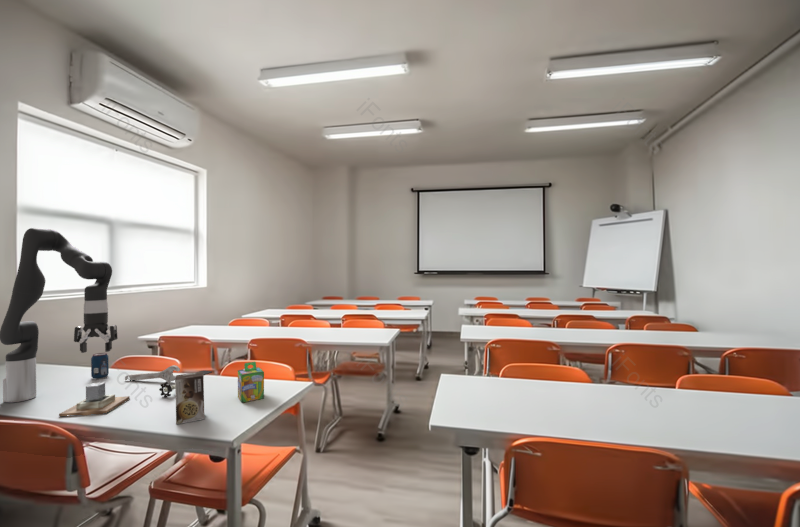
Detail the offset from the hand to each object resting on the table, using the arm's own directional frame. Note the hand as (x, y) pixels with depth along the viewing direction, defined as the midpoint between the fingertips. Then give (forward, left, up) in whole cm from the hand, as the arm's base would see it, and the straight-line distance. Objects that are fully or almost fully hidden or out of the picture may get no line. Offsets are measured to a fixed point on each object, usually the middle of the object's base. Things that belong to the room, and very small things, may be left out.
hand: (96, 351), depth 149 cm
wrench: (+6, +33, -23) cm, 41 cm away
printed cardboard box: (+42, -20, -23) cm, 52 cm away
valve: (+25, +12, -23) cm, 36 cm away
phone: (+23, +40, -23) cm, 52 cm away
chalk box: (+59, -1, -23) cm, 63 cm away
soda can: (-25, +47, -23) cm, 58 cm away
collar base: (0, 0, -22) cm, 22 cm away
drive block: (0, 0, -21) cm, 21 cm away
